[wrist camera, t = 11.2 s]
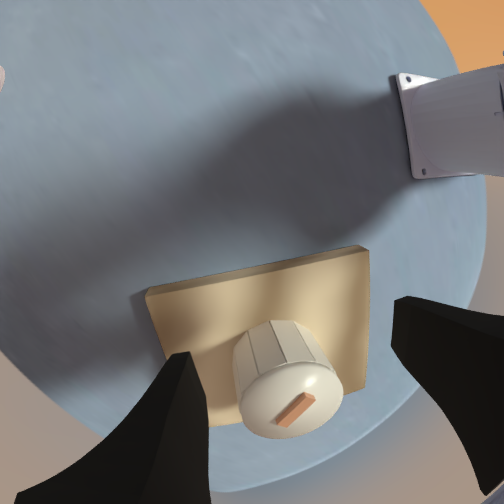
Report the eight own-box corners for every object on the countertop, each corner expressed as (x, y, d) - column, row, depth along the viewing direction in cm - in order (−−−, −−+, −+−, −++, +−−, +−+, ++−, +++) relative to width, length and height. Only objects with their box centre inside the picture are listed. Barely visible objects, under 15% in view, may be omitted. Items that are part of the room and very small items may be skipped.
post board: (356, 243, 19) (400, 267, 14) (356, 376, 22) (383, 414, 17) (149, 286, 17) (130, 326, 13) (197, 414, 21) (197, 462, 16)
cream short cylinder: (266, 305, 17) (289, 356, 12) (330, 342, 19) (365, 391, 13) (216, 368, 18) (221, 428, 13) (281, 396, 19) (300, 450, 14)
